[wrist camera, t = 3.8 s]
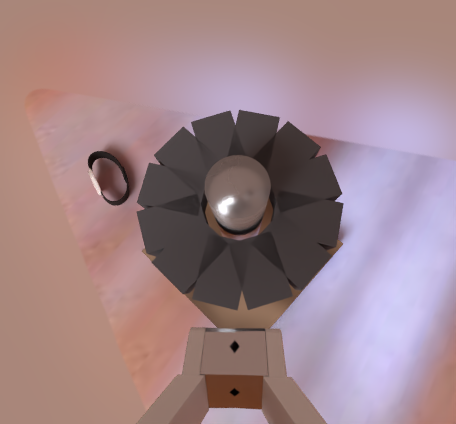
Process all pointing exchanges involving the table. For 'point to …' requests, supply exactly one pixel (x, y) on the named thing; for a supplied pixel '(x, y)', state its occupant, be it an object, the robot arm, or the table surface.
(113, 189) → the table surface
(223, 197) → the metallic rounded rod
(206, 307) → the stand
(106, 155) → the watch
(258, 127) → the grey gear
